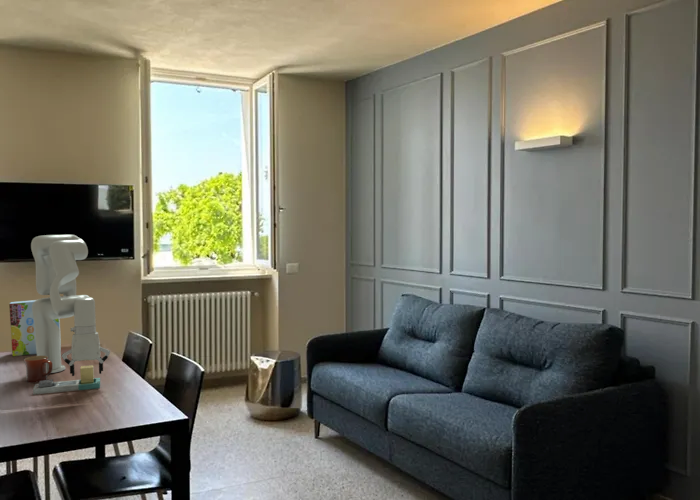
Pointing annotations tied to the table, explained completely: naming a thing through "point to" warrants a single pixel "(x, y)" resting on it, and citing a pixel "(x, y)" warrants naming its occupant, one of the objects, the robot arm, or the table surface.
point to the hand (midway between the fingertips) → (86, 374)
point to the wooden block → (87, 374)
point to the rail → (66, 386)
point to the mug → (37, 368)
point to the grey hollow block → (46, 383)
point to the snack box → (24, 328)
